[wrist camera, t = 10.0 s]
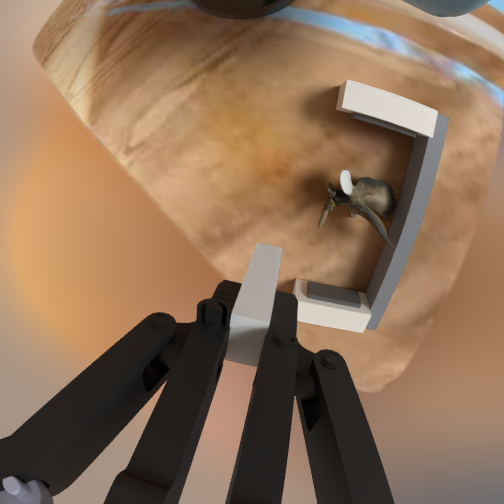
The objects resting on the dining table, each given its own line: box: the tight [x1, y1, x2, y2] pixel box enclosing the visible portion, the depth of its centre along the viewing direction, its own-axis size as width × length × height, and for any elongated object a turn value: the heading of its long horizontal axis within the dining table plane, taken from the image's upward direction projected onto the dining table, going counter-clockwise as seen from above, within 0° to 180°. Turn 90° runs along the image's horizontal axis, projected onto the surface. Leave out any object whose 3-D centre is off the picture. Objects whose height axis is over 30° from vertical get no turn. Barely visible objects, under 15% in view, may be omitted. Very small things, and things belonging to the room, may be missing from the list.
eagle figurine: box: [318, 170, 396, 248], centre depth 30 cm, size 8×7×9 cm
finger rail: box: [292, 80, 449, 333], centre depth 31 cm, size 28×12×5 cm, turn 171°
